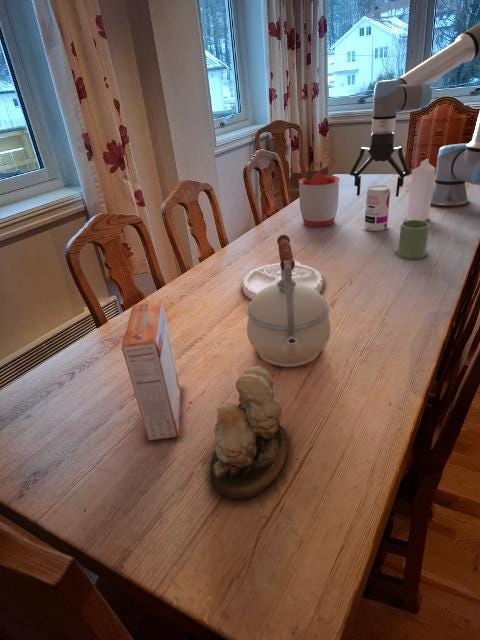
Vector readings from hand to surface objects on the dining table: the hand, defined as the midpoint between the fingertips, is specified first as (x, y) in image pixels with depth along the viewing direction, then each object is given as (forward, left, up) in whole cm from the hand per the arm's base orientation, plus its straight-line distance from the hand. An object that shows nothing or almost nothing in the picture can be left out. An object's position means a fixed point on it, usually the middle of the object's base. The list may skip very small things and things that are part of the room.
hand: (377, 195), depth 156 cm
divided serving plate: (+55, +13, -13) cm, 58 cm away
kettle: (+77, +42, -13) cm, 88 cm away
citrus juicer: (+9, -22, -13) cm, 27 cm away
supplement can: (0, 0, -13) cm, 13 cm away
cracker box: (+108, +42, -13) cm, 116 cm away
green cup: (+12, +25, -12) cm, 30 cm away
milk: (-18, +5, -13) cm, 23 cm away
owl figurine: (+101, +61, -13) cm, 118 cm away
